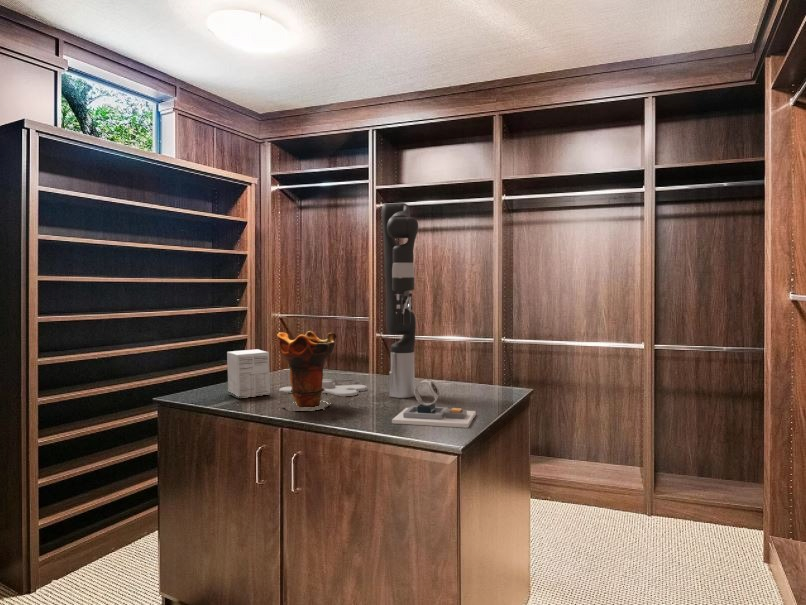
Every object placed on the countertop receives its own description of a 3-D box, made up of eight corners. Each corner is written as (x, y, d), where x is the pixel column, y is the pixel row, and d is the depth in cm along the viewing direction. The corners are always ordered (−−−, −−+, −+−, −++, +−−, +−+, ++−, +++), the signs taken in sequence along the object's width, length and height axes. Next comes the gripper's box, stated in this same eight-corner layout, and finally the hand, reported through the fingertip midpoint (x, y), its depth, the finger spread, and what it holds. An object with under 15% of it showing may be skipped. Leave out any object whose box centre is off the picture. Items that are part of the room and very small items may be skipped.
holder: (352, 399, 216) (352, 386, 216) (274, 394, 227) (274, 382, 227) (370, 389, 235) (370, 377, 234) (297, 386, 245) (297, 374, 245)
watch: (436, 417, 179) (435, 382, 178) (412, 415, 181) (412, 381, 181) (441, 413, 184) (440, 379, 184) (417, 411, 187) (417, 378, 186)
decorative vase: (348, 399, 211) (345, 326, 208) (319, 417, 189) (315, 335, 187) (300, 396, 218) (296, 325, 215) (266, 413, 196) (261, 334, 194)
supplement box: (270, 395, 223) (269, 351, 222) (237, 400, 215) (236, 354, 214) (259, 390, 234) (258, 348, 233) (227, 394, 226) (226, 351, 225)
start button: (450, 416, 178) (450, 410, 178) (452, 414, 181) (452, 407, 181) (460, 416, 178) (460, 410, 178) (461, 414, 180) (461, 408, 180)
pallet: (392, 423, 176) (391, 414, 176) (406, 411, 193) (406, 403, 193) (467, 427, 170) (467, 418, 170) (475, 414, 186) (475, 406, 186)
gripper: (398, 276, 197) (399, 322, 198) (386, 276, 184) (387, 325, 184) (419, 276, 195) (419, 322, 196) (408, 276, 182) (409, 326, 182)
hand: (403, 324), depth 190 cm, fingers open, 8 cm apart
